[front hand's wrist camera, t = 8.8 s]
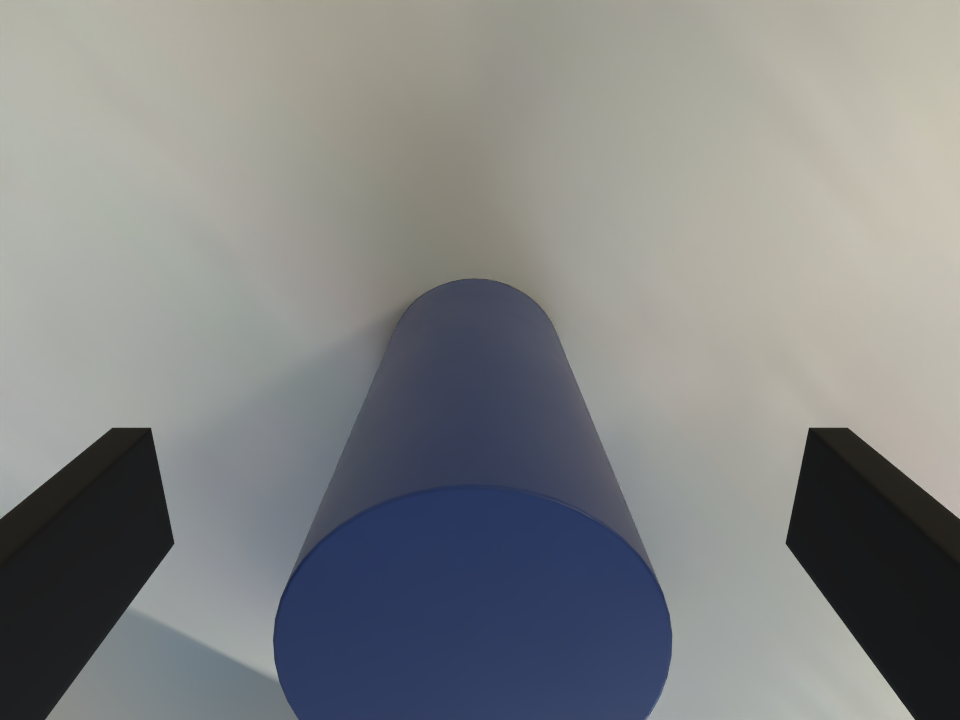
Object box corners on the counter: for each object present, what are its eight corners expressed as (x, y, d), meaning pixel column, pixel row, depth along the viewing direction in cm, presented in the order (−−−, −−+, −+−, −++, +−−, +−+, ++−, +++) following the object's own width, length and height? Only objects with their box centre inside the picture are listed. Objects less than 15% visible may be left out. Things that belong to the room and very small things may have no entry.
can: (405, 450, 22) (322, 818, 10) (373, 291, 20) (223, 514, 8) (568, 429, 22) (680, 780, 10) (552, 266, 20) (664, 459, 8)
